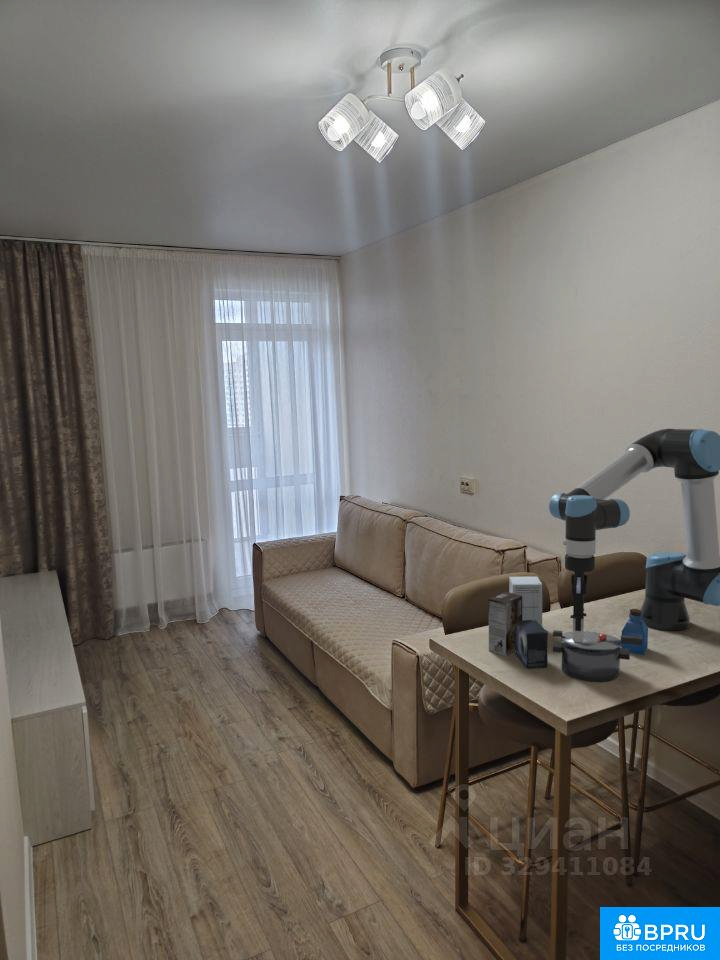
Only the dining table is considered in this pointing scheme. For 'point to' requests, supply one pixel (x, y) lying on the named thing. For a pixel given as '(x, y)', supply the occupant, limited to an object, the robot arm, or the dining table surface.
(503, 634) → the coffee box
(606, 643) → the lid
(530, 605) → the supplement box
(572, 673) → the pot
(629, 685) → the dining table surface
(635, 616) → the perfume bottle
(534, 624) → the small box
